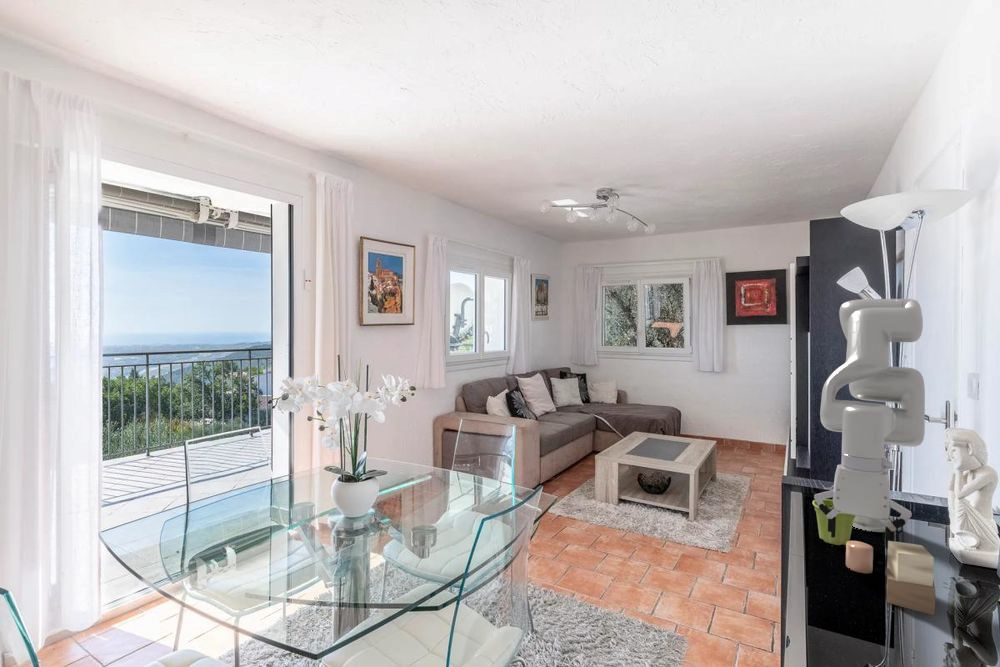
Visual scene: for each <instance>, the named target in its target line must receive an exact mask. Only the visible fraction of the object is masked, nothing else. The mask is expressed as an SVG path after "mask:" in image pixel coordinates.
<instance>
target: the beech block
mask: <svg viewBox="0 0 1000 667" xmlns="http://www.w3.org/2000/svg"><path fill="white" fill-rule="evenodd" d="M934 562H935V557H934V556H933V555H932V554H931V553H930V552H929V551H928V550H927V549H926V547H924V546H923V545H921V544H915V543H909V542H902V541H901V542H900V541H895V540H894V541H888V549H887V563H886V569H887V568H888V569H889V570H890V572H891V573H892V574H893V576H894V577H895V578H896V580H897V581H902V582H908V583H914V584H921V585H927V586H933V581H934V565H935V564H934Z"/></svg>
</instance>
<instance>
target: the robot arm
mask: <svg viewBox="0 0 1000 667" xmlns="http://www.w3.org/2000/svg"><path fill="white" fill-rule="evenodd" d="M921 307H922V306H921V305H920V303H919V302H918V301H917V300H915V299H912V298H862V299H852V300H848V301H845V302H844V303H842V304H841V305H840V308H839V314H838V315H839V322H840V325H841V329H842V332H843V334H844V337H845V339H846V341H847V343H846V356H845V362H844V363H843V364H842V365H840V366H839V367H837V368H836V369H835V370H833V372H832V373H831V374H830V375H829V376H828V378H827V379H826V381H825V382H824V384H823V387H822V391H821V400H820V409H819V411H820V412H819V416H820V417H819V419H820V423H821V424H822V426H823V427H824V429H826V430H827V431H831V432H837V433H841V460H840V461H841V463H840V464H837V466H836V470H835V473H834V481H833V489H830V490H827V491H823V492H819V493H815V494H814V495H813V498H814V499H813V500H816V502H817V504H818V506H819V508H820V510H821V511H822V512H823V513H824V514H825V515H826V516H827V518H828V532H831V537H833V538H834V537H835V533H836V517H835V516H836V515H837V514H839V513H840V512H841V513H845V514H850V515H855V518H854V521H853V525H852V526H853V527H855V528H854V529H856V528H858V529H857V530H860V529H862V530H861V531H865V530H866V531H865V532H871V531H872V533H874V532H875V533H884V546H885V547H884V548H885V549H886V550H888V541H894V542H895V532H896V531H897V530H898V529H900V528H901V527H904V526H905V525H906V523H907V522H908V521H909V519H910V518H911V517H912V516H913V515H912V511H911V510H909V509H907V508H906V507H905V506H903V505H901V504H899V503H897V502H896V501H894V500H892V499H891V490H890V489H891V487H890V479H889V475H888V469H893V462H892V461H889V460H888V459H887V457H886V455H885V445H892V446H902V447H910V448H913V447H914V448H915V447H918V446H920V445H922V443H923V441H924V439H925V438H924V437H925V428H926V426H925V425H926V422H925V420H926V418H925V417H926V416H925V415H926V409H925V405H926V404H925V403H926V399H925V397H926V394H925V393H926V391H925V380H924V377H923V374H922V373H921V372H920V371H919V370H918V369H915V368H911V367H907V366H906V367H905V366H904V367H903V366H890V343H915V342H917V341H919V339H920V338H921V336H922V333H923V329H924V322H923V312H922V308H921ZM847 385H848V387H849V388H848V390H849V393H850V396H852V397H853V398H855V399H857V400H861V401H857V400H845V399H836V396H837V393H838V391H839V390H840V389H841V388H843V387H844V386H847ZM864 401H865V402H864ZM867 401H871V402H867ZM877 402H879V403H877ZM883 403H890V404H899V405H900V406H901V407H900V408H899V407H890V406H888V405H886V404H883ZM830 498H832V500H833V507H832V508H831V509H829V508H828V507H827V506H826V505H825V504H824V502H823V499H827V500H828V499H830ZM891 509H893V510H895V511H896V512H898V513H899V514H900V516H899V517H897V518H896V519H894V520H892V518H891V517H890V516H891ZM853 527H852V528H853Z"/></svg>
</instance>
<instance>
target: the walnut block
mask: <svg viewBox="0 0 1000 667" xmlns="http://www.w3.org/2000/svg"><path fill="white" fill-rule="evenodd" d="M885 586H886V587H885V588H886V603H887V604H891V605H895V606H898V607H902V608H905V609H909V610H913V611H916V612H920V613H925V614H928V615H932V616H935V614H936V613H935V611H936V586H935V582H934V580H933V586H927V585H921V584H914V583H908V582H902V581H897V580H896V578H895V577H894V576H893V574H892V573H891V572H890V570H889V569H888V568H887V567H886V585H885Z"/></svg>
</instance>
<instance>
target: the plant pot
mask: <svg viewBox="0 0 1000 667" xmlns="http://www.w3.org/2000/svg"><path fill="white" fill-rule="evenodd" d="M823 502H824V504H825V505H826V506H827V507H828V508H829V509H831V508H832V507H833V499H828V498H827V499H823ZM812 505H813V507H814V511H815V513H816V521H817V529H818V535H819V536H818V537H819V539H820V540H823V541H824V542H825V543H828V544H831V545H835V546H841V545H844V546H846V542H847V541H851V535H852V529H853V527H852V525H853V521H854V518H855V515H850V514H845V513H841V512H840V513H839V514H837V515H836V516H835V517H836V533H835V537H834V538H833V537H831V532H828V518H827V516H826V515H825V514H824V513H823V512H822V511H821V510H820V508H819V506H818V504H817V502H816V500H815V499H813V500H812Z"/></svg>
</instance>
